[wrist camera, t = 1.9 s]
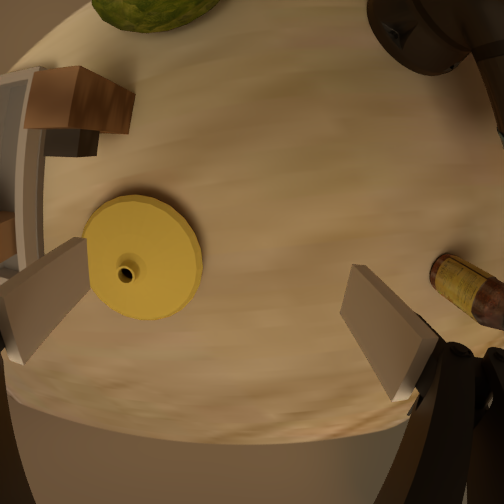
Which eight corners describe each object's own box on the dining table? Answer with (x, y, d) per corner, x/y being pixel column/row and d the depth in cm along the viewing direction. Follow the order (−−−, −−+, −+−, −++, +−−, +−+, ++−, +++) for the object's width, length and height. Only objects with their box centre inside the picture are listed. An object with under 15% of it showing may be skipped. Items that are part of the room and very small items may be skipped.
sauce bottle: (427, 294, 40) (507, 369, 21) (427, 257, 38) (521, 325, 19) (457, 281, 39) (538, 344, 21) (458, 246, 37) (550, 301, 19)
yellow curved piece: (74, 267, 36) (49, 288, 29) (123, 166, 32) (97, 170, 25) (167, 328, 39) (156, 360, 33) (230, 237, 36) (229, 257, 29)
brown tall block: (99, 94, 29) (34, 71, 16) (135, 94, 29) (79, 65, 16) (90, 152, 31) (20, 158, 18) (125, 154, 32) (63, 159, 18)
